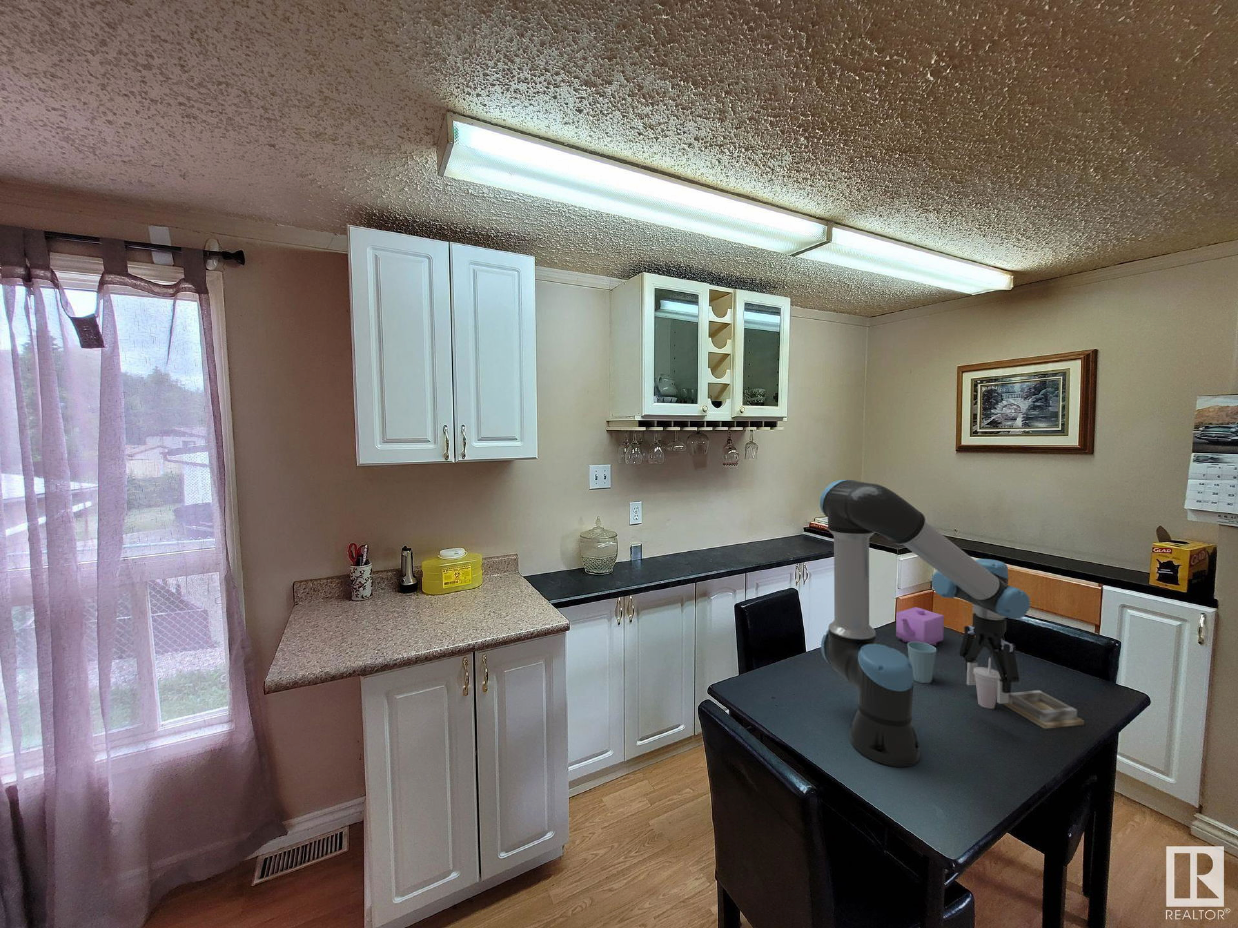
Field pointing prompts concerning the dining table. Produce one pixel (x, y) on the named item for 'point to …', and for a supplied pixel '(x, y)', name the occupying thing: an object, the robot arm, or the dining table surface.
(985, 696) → the smoothie
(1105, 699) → the dining table surface
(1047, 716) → the tray
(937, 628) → the purple box
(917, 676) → the cup
